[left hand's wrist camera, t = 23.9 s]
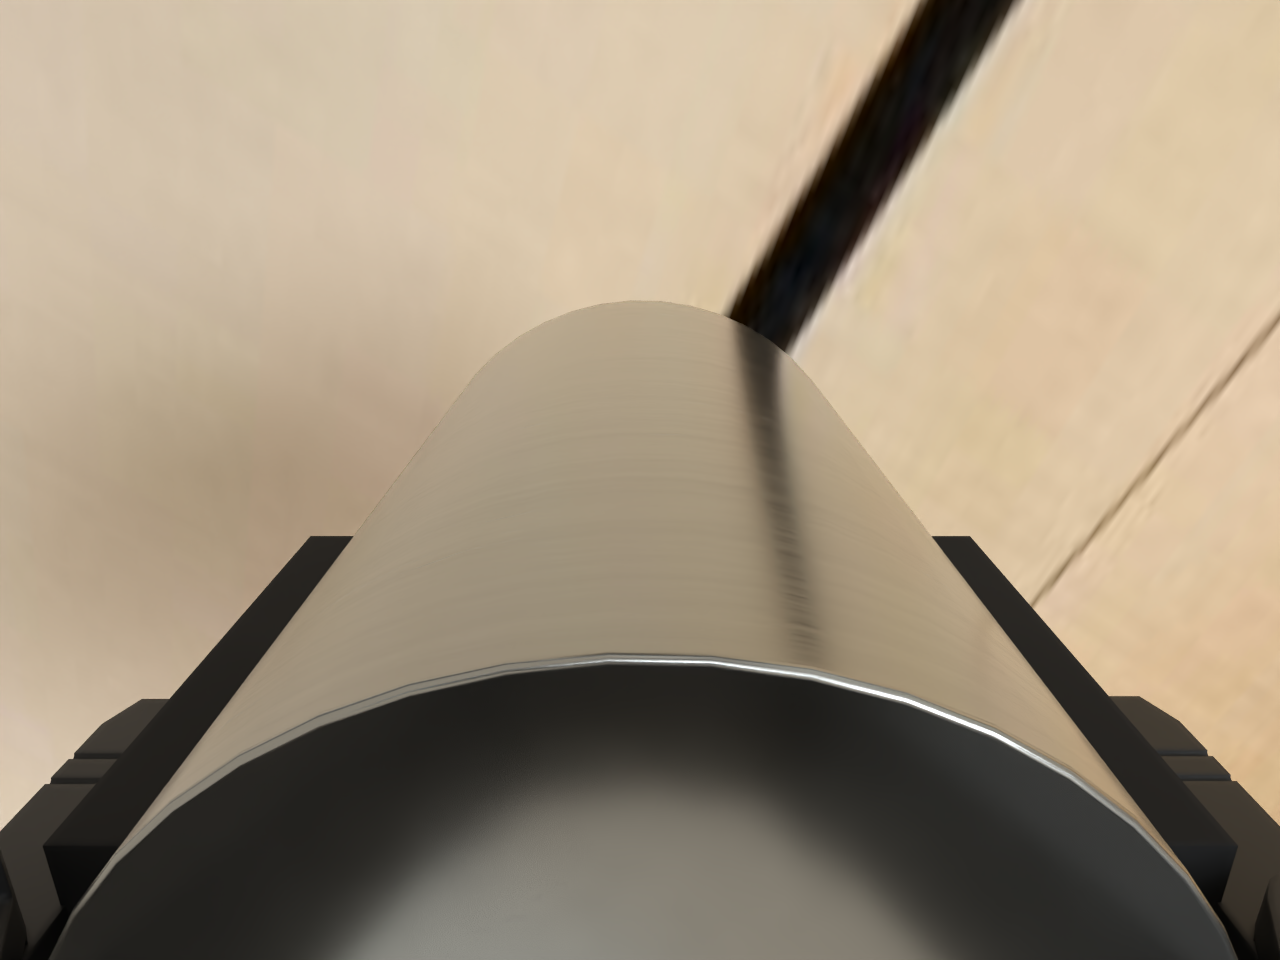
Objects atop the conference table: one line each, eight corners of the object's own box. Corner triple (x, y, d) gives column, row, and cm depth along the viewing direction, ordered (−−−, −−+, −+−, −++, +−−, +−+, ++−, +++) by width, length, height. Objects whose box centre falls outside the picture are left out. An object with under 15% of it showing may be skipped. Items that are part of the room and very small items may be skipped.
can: (379, 343, 17) (-230, 780, 5) (829, 262, 16) (1327, 539, 5) (486, 717, 20) (261, 1537, 8) (869, 659, 19) (1228, 1447, 8)
